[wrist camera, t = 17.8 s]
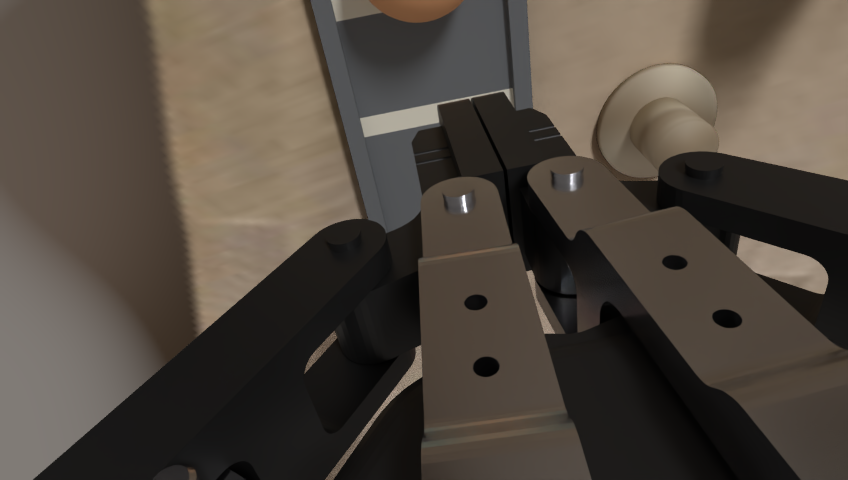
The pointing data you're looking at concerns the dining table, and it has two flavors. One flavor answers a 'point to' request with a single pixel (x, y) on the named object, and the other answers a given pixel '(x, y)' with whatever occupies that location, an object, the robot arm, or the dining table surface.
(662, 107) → the beige brimmed cylinder
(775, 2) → the dining table surface
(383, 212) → the lane
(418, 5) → the ball
